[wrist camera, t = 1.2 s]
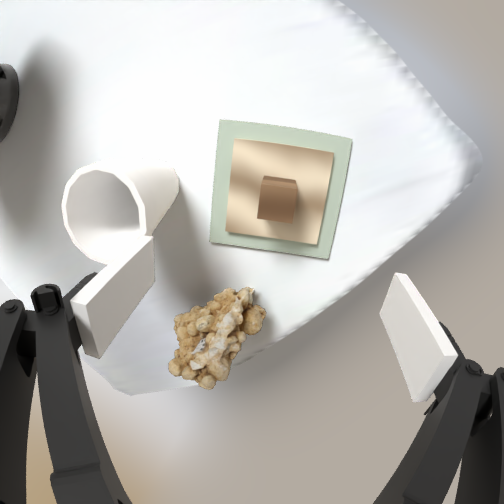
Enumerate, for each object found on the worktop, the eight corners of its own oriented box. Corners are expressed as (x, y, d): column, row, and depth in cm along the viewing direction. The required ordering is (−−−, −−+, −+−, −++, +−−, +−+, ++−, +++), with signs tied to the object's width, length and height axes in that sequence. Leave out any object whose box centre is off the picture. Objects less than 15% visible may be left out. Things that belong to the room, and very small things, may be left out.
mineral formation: (175, 309, 42) (137, 383, 29) (235, 254, 38) (209, 328, 24) (215, 341, 44) (192, 419, 31) (278, 293, 39) (275, 377, 26)
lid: (235, 138, 31) (225, 140, 26) (332, 152, 31) (343, 157, 25) (226, 228, 36) (216, 248, 30) (316, 242, 35) (321, 263, 30)
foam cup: (199, 157, 33) (155, 176, 21) (183, 228, 37) (141, 277, 25) (130, 141, 33) (64, 155, 21) (120, 209, 36) (61, 247, 25)
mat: (220, 119, 31) (219, 119, 30) (351, 138, 30) (352, 138, 30) (210, 240, 37) (209, 241, 37) (327, 257, 36) (328, 259, 36)
